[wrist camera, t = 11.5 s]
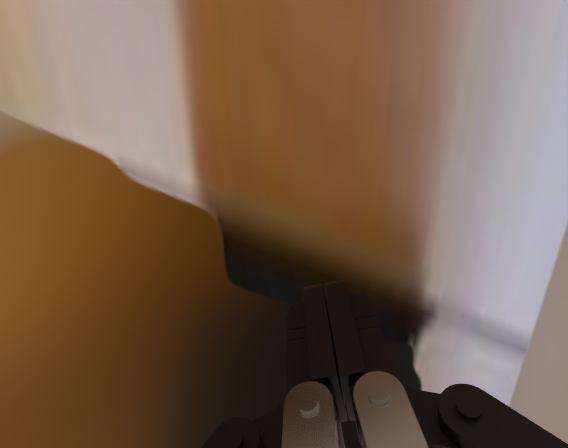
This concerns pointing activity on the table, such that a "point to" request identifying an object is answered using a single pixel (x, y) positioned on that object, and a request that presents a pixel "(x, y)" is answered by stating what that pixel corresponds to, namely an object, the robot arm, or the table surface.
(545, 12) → the table surface
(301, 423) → the robot arm
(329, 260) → the table surface
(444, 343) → the table surface
